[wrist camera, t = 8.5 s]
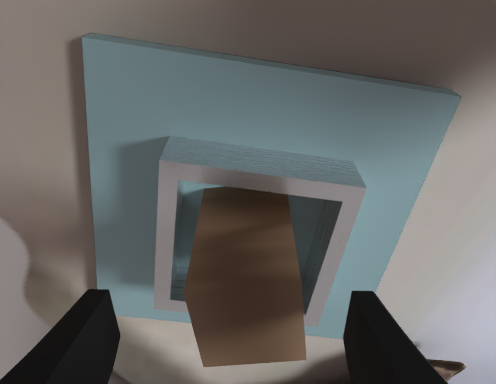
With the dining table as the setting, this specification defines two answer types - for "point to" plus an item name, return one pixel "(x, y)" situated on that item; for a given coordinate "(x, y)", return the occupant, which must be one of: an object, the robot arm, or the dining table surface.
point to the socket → (262, 179)
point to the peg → (245, 279)
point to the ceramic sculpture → (447, 368)
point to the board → (253, 135)
